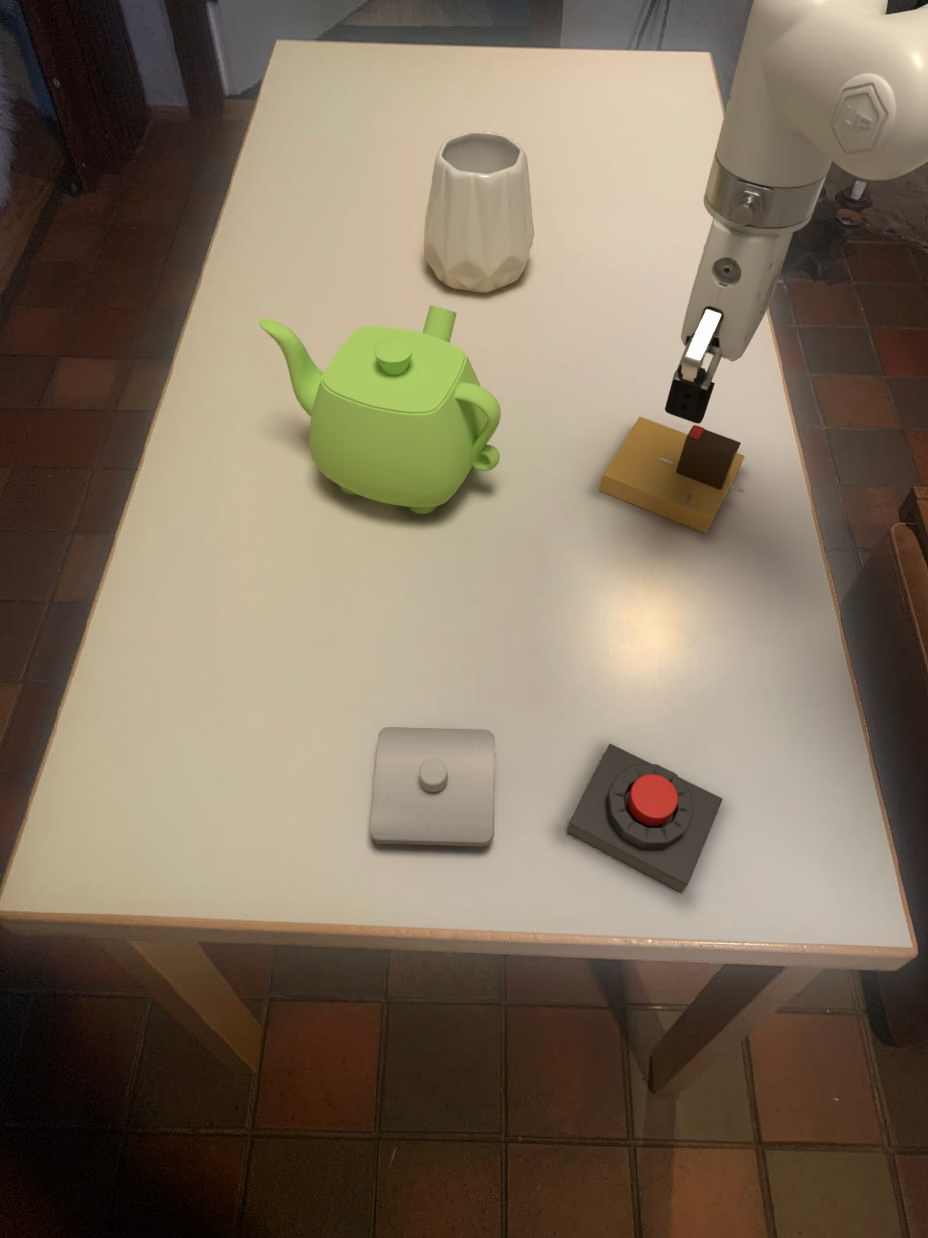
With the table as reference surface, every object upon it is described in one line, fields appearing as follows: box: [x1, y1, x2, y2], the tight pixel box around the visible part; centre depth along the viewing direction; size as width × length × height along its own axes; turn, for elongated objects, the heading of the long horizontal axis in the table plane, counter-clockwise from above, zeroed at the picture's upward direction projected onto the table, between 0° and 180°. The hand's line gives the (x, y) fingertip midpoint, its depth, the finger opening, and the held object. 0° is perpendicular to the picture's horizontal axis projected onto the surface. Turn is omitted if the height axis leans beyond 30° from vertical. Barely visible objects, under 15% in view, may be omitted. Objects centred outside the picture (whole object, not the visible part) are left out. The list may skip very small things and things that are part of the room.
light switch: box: [369, 726, 495, 847], centre depth 68 cm, size 10×10×5 cm
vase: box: [423, 130, 535, 294], centre depth 105 cm, size 14×14×15 cm
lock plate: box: [599, 416, 746, 534], centre depth 89 cm, size 14×10×3 cm
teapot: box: [258, 305, 502, 515], centre depth 86 cm, size 25×22×16 cm
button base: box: [566, 743, 723, 893], centre depth 68 cm, size 10×8×4 cm
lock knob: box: [676, 424, 742, 490], centre depth 85 cm, size 5×2×5 cm, turn 61°
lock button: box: [628, 774, 678, 826], centre depth 65 cm, size 4×4×2 cm
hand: (702, 381), depth 72 cm, fingers open, 9 cm apart
